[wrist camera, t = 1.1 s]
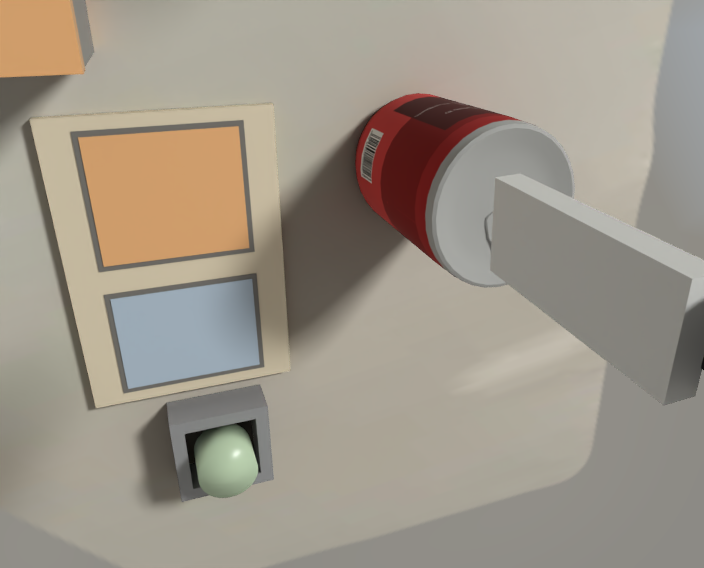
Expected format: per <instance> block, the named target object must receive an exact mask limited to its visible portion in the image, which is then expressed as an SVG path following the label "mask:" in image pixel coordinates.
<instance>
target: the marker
mask: <svg viewBox="0 0 704 568" xmlns="http://www.w3.org/2000/svg"><path fill="white" fill-rule="evenodd" d="M93 53H94V47H93V42H92V36H91V30H90V25H89V19H88V14H87V8H86V2H85V0H0V77H23V76H46V75H70V74H84V72H85V66H86V64H87V63H88V61H89V60H90V58H91V56H92V55H93Z"/></svg>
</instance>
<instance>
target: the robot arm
mask: <svg viewBox="0 0 704 568" xmlns="http://www.w3.org/2000/svg"><path fill="white" fill-rule="evenodd" d="M490 271H492V272H493V273H494V274H496V275H497V276H498V277H499V278H501V279H502V280H503V281H504V282H506V283H507V284H508V285H510V286H511V287H512V288H513V289H515V290H516V291H517V292H519V293H520V294H521V295H522V296H524V297H525V298H526V299H528V300H529V301H530V302H531V303H533V304H534V305H535V306H537V307H538V308H539V309H540V310H542V311H543V312H544V313H546V314H547V315H548V316H549V317H551V318H552V319H553V320H555V321H556V322H557V323H558V324H560V325H561V326H562V327H564V328H565V329H566V330H567V331H569V332H570V333H571V334H573V335H574V336H575V337H576V338H578V339H579V340H580V341H582V342H583V343H584V344H585V345H587V346H588V347H589V348H591V349H592V350H593V351H594V352H596V353H597V354H598V355H600V356H601V357H602V358H603V359H605V360H606V361H607V362H609V363H610V364H611V365H612V366H614V367H615V368H616V369H618V370H619V371H620V372H621V373H623V374H624V375H625V376H627V377H628V378H629V379H631V380H632V381H633V382H634V383H635V384H637V385H638V386H639V387H641V388H642V389H643V390H645V391H646V392H647V393H648V394H650V395H651V396H652V397H653V398H655V399H656V400H657V401H659V402H660V403H661V404H663V405H667V404H670V403H674V402H677V401H681V400H684V399H687V398H691V397H694V396H695V395H696V391H697V387H698V383H699V379H700V375H701V371H702V369H703V370H704V260H703V259H701V258H699V257H696V256H695V255H693V254H690V253H688V252H686V251H684V250H681V249H680V248H678V247H676V246H674V245H671V244H669V243H667V242H665V241H663V240H661V239H658V238H656V237H654V236H652V235H650V234H648V233H646V232H643V231H641V230H639V229H637V228H635V227H633V226H631V225H629V224H626V223H624V222H622V221H620V220H618V219H616V218H614V217H612V216H610V215H607V214H605V213H603V212H601V211H599V210H597V209H595V208H593V207H590V206H588V205H586V204H584V203H582V202H580V201H578V200H576V199H574V198H571V197H569V196H567V195H565V194H563V193H561V192H559V191H557V190H554V189H552V188H550V187H548V186H546V185H544V184H542V183H540V182H537V181H535V180H533V179H531V178H529V177H527V176H525V175H523V174H521V173H520V174H513V175H507V176H501V177H495V191H494V208H493V226H492V243H491V261H490Z"/></svg>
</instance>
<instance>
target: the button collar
mask: <svg viewBox="0 0 704 568" xmlns="http://www.w3.org/2000/svg"><path fill="white" fill-rule="evenodd" d="M167 412H168V422H169V429H170V435H171V441H172V447H173V453H174V458H175V464H176V470H177V476H178V482H179V488H180V493H181V499H182V502H183V501H187V500H191V499H196V498H200V497H204V496H208V494H207V493H205V492H204V491H203V490H202V488H201V487H200V485H199V480H198V474H197V468H196V463H191V464H189V458H188V451H187V445H186V439H185V434H187V433H192V432H197V431H201V430H206V429H211V428H215V427H220V426H225V425H230V424H234V423H239V422H244V421H248V420H251V423H252V433H253V443H254V449H253V451H254V454H255V457H256V461H257V464H258V474H257V477H256V479H255V481H254V482H253V484H257V483H261V482H265V481H269V480H273V479H274V476H273V464H272V452H271V440H270V429H269V417H268V406H267V403H266V400H265V397H264V395H263V392H262V389H261V386H260V385H255V386H250V387H245V388H240V389H234V390H229V391H224V392H219V393H214V394H209V395H204V396H199V397H194V398H189V399H184V400H178V401H173V402H168V403H167ZM253 484H252V485H253Z"/></svg>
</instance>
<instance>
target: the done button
mask: <svg viewBox="0 0 704 568" xmlns="http://www.w3.org/2000/svg"><path fill="white" fill-rule="evenodd" d="M194 455H195V461H196V468H197V474H198V480H199V485H200V487H201V488H202V490H203V491H204V492H205V493H207V494H208V495H210V496H213V497H218V498H227V497H232V496H235V495H238V494H240V493H242V492H244V491H245V490H247V489H248V488H249V487H250V486H251V485H252V484H253V482H254V481H255V479H256V477H257V474H258V464H257V461H256V457H255V454H254V451H253V447H252V444H251V440H250V437H249V435H248V433H247V431H246V430H245V429H244V428H242V427H241V426H239V425H236V424H230V425H225V426H220V427H215V428H211V429H207V430H205V431H204V432H203V433H202V434H201V435H200V436H199V437H198V439H197V440H196V443H195V446H194Z"/></svg>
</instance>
